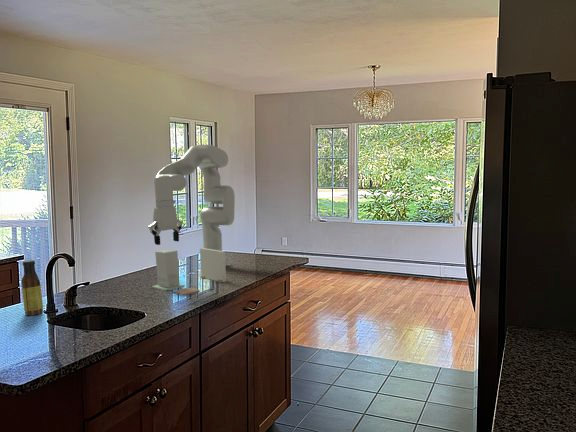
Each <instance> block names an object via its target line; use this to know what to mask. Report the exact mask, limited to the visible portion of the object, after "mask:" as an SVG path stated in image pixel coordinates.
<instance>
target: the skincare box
mask: <svg viewBox="0 0 576 432" xmlns="http://www.w3.org/2000/svg"><path fill="white" fill-rule="evenodd" d="M154 253H155V265H156V277H157V285H158V286H163V287H168V288H169V287H174V286H178V285H180V284H181V282H180V273H179V272H180V270H179V258H178V250H175V249H173V250H172V249H167V248H166V249H163V250H157V251H155V252H154Z"/></svg>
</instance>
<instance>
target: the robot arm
mask: <svg viewBox="0 0 576 432" xmlns="http://www.w3.org/2000/svg"><path fill="white" fill-rule="evenodd" d="M228 163H229V157H228V153H227V152H226V151H225V150H223V149H221V148H219V147H218V146H215V145H213V144H196V145H192V146H190V147H189V148H188V150H186V152H185V153H184V154H183V155H182V157H180V159H178V160H176V161H174V162H172V163H170V164H167V165H166V166H164V167H162V169H160V170H159V171H158V173H157V174H156V176H155V177H154V181H153V184H154V196H155V197H154V199H155V207H154V209H153V215H152V223H151V224H150V225H148V226H147V228H148V230H149V231H150V232H149V233H151V234H152V236H153V237H154V245H156V246H157V245H158V246H159V245H161V236H160V234H161V232H165V231H171V230H172V231H173V233H172V236H173V239H172V240H173V241H174V242H180V232H181V229H182V228H183V223H184V222H183V221H182V220H180V219H179V218H178V214H177V209H176V206H175V205H174V204H175V203H176V200H175V199H174V192H181V191H182V190H183V191H184V189H185V188H186V187H187V179H186V177H185V176H188V175H192V174H193V173H194V172H195V171H196V169H197V168H199V169H200V171H201V173H202V176H203V200H204V202H205V203H206V204H210V205H211V204H212V205H222V206H206V207H203V208H202V209H201V211H200V217H199V218H200V221H201V227H202V237H203V238H202V240H203V241H202V243H203V244H202V246H203V247H202V248H206V249H212V250H219V251H223V239H222V238H223V237H222V231H221V229H220V228H219V226H231V225H232V224H233V223H234V221H235V202H236V201H235V200H236V199H235V198H236V197H235V191H234V188H233V187H232V186H230V185H225V184H224V185H222V184H221V174H220V172H219V170H218V169H221V168H225V167H226V166H227V165H228ZM226 262H230V258H229V257H225V263H226Z"/></svg>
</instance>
